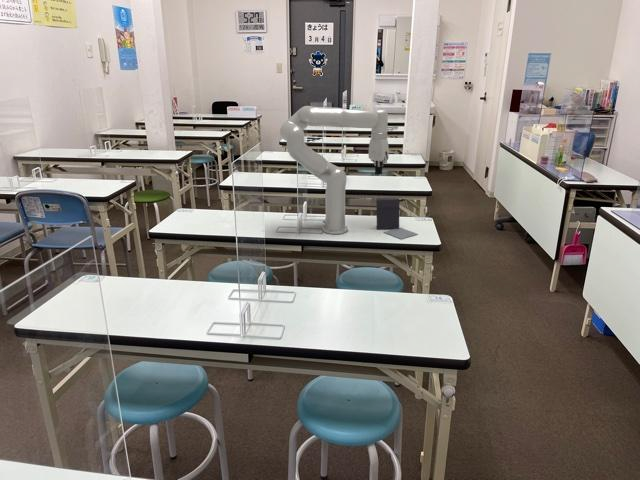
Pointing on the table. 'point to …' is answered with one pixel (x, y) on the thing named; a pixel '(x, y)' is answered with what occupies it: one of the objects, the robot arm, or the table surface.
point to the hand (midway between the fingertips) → (378, 174)
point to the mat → (400, 233)
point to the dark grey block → (387, 213)
